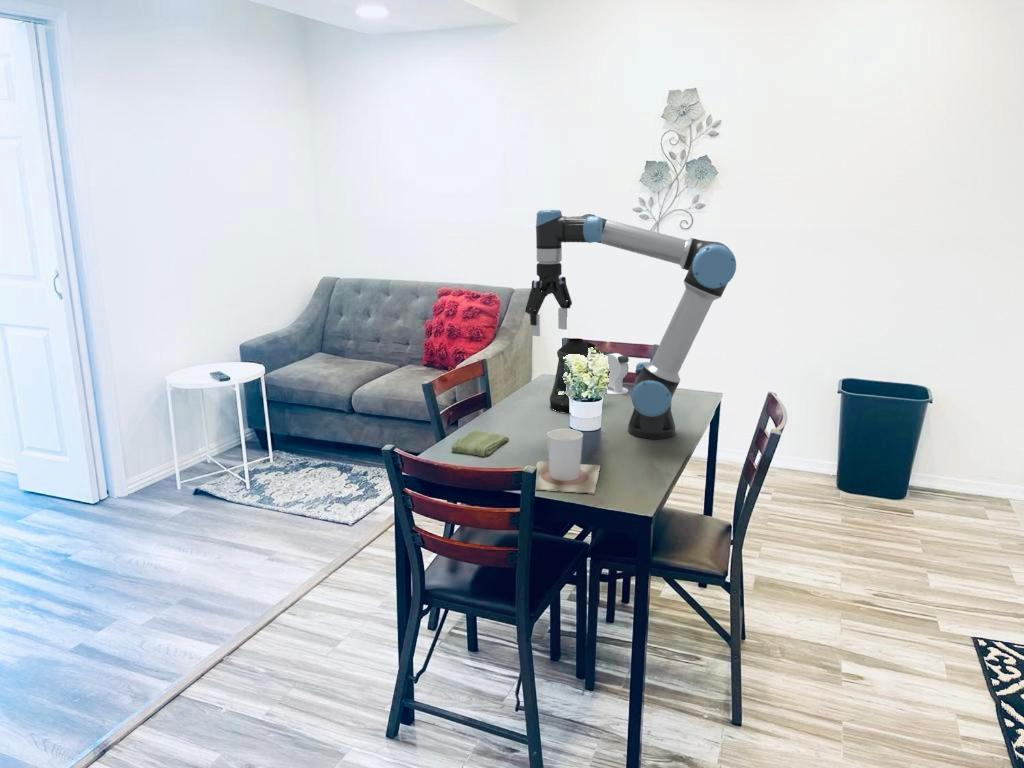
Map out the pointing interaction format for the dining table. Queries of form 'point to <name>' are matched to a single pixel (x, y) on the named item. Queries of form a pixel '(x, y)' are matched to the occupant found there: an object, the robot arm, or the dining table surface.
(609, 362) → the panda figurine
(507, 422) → the dining table surface
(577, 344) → the black tall bulky piece
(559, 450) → the white tapered cylinder
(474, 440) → the washcloth
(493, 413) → the dining table surface
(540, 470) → the card
